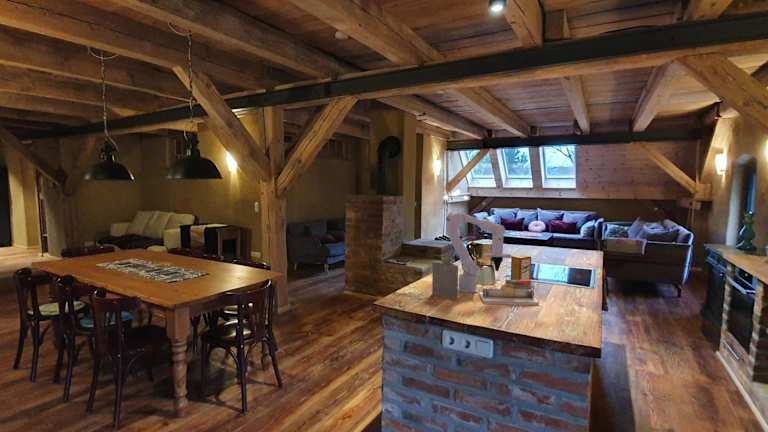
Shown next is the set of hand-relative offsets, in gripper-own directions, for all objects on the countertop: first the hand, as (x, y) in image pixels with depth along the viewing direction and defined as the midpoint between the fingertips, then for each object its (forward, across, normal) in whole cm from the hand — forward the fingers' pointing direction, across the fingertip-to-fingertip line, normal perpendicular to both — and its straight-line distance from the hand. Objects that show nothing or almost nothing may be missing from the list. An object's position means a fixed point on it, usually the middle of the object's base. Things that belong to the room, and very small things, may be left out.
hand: (496, 270), depth 211 cm
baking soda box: (+11, +17, +16) cm, 26 cm away
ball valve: (+10, +2, -19) cm, 22 cm away
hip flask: (+11, -29, -17) cm, 35 cm away
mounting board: (+10, +2, -19) cm, 22 cm away
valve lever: (+2, +7, -19) cm, 20 cm away
